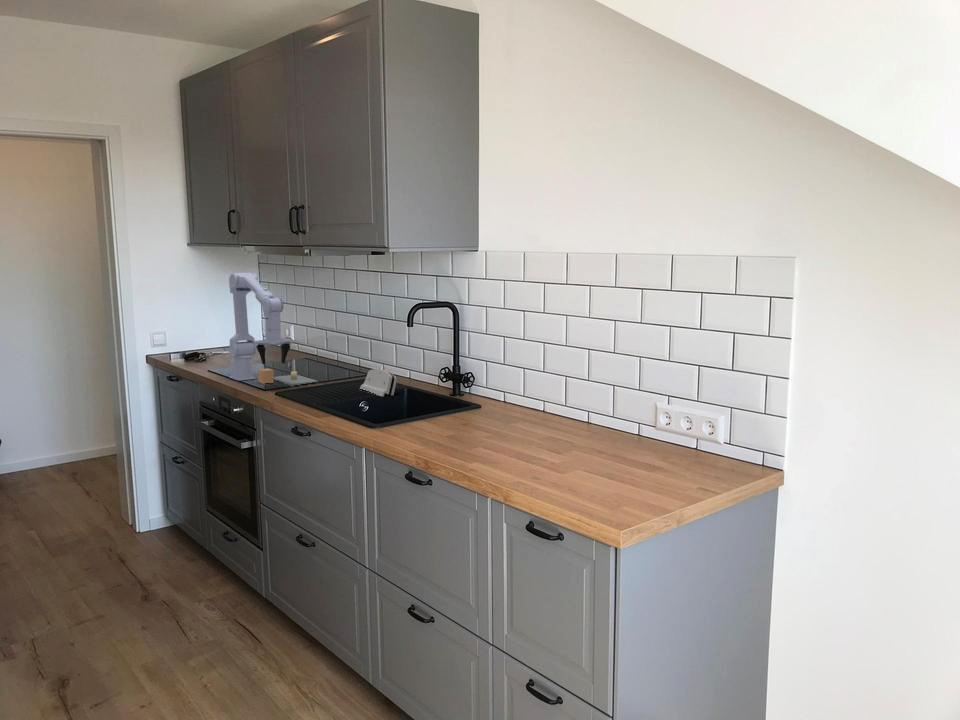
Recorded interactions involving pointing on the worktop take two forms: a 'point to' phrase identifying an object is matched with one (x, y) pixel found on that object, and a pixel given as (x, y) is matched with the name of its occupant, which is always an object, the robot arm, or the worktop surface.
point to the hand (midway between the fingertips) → (273, 363)
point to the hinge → (379, 382)
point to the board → (294, 379)
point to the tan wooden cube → (265, 376)
